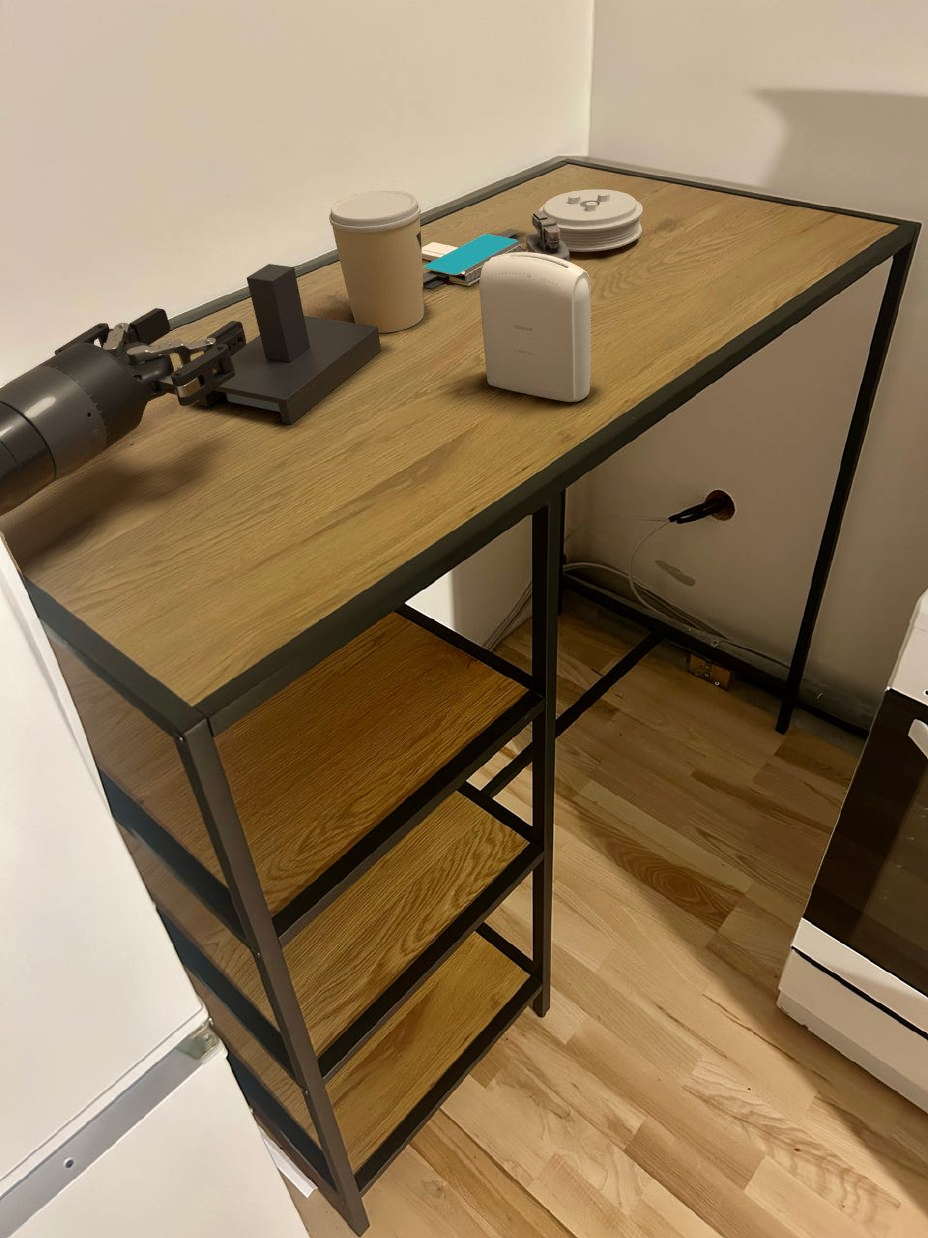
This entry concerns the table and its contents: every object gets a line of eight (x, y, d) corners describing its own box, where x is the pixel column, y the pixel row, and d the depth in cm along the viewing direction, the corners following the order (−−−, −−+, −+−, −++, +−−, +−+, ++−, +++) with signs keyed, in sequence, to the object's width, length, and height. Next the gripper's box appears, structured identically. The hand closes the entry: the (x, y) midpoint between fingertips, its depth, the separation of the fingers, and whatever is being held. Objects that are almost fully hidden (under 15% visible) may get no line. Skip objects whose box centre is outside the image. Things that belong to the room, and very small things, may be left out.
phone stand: (473, 226, 121) (473, 213, 120) (548, 241, 115) (548, 227, 113) (369, 280, 110) (367, 266, 109) (445, 299, 104) (444, 285, 103)
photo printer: (479, 387, 88) (469, 256, 79) (502, 368, 90) (495, 239, 82) (576, 409, 83) (576, 273, 75) (597, 388, 85) (599, 254, 77)
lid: (657, 228, 115) (659, 185, 112) (615, 265, 107) (617, 220, 104) (565, 218, 120) (565, 177, 117) (520, 252, 113) (518, 209, 109)
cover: (291, 424, 85) (265, 314, 78) (199, 405, 89) (167, 298, 82) (381, 350, 95) (365, 246, 88) (295, 336, 100) (274, 236, 93)
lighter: (576, 327, 96) (576, 228, 89) (545, 333, 95) (542, 234, 89) (551, 298, 102) (550, 203, 95) (522, 303, 101) (518, 209, 95)
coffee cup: (448, 315, 100) (438, 200, 92) (379, 344, 96) (361, 226, 88) (398, 293, 106) (384, 183, 98) (331, 319, 102) (310, 206, 94)
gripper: (117, 382, 64) (257, 291, 74) (-22, 353, 70) (127, 272, 80) (150, 474, 69) (277, 377, 79) (18, 440, 74) (153, 353, 85)
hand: (202, 324), depth 80 cm, fingers open, 8 cm apart
